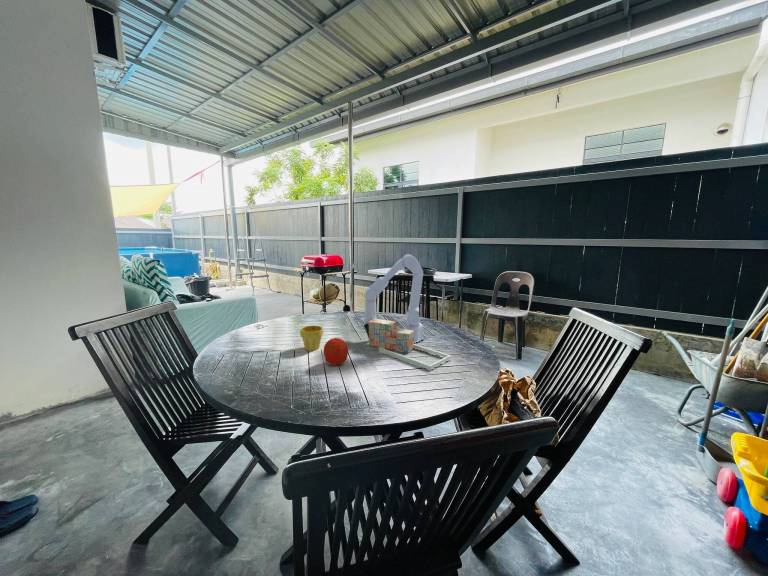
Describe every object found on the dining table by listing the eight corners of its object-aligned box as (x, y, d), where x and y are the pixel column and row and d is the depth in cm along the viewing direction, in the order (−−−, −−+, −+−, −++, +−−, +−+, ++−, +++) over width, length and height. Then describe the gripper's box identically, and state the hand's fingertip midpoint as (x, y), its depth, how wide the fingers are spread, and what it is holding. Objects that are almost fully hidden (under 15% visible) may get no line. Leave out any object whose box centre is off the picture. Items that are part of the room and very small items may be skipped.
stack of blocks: (413, 349, 147) (414, 324, 145) (408, 353, 142) (409, 327, 140) (374, 341, 157) (375, 318, 155) (368, 345, 152) (368, 321, 150)
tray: (400, 343, 155) (400, 339, 155) (450, 359, 135) (451, 355, 135) (378, 351, 144) (378, 347, 143) (430, 370, 124) (430, 366, 124)
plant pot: (310, 354, 140) (310, 333, 138) (296, 348, 146) (295, 328, 144) (327, 347, 148) (327, 328, 146) (313, 342, 154) (313, 324, 153)
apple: (324, 369, 124) (324, 342, 122) (322, 360, 134) (322, 334, 132) (349, 367, 127) (349, 340, 125) (346, 357, 136) (345, 332, 134)
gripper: (355, 311, 158) (355, 336, 160) (375, 316, 148) (374, 343, 150) (365, 308, 163) (365, 333, 165) (385, 313, 153) (384, 340, 156)
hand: (370, 338), depth 158 cm, fingers closed
